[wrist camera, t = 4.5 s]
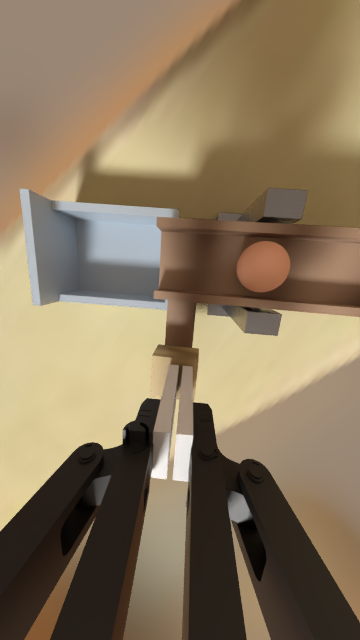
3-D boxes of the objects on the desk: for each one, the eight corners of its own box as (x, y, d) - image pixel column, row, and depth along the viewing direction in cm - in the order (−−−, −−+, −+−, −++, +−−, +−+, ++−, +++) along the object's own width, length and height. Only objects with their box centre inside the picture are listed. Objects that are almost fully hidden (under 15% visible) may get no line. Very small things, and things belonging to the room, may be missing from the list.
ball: (255, 295, 12) (296, 296, 13) (266, 234, 11) (308, 241, 12) (224, 288, 15) (259, 290, 16) (230, 240, 14) (266, 246, 15)
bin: (76, 295, 24) (32, 305, 17) (72, 213, 22) (19, 188, 15) (174, 302, 24) (169, 316, 17) (180, 221, 21) (176, 199, 15)
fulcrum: (207, 313, 24) (218, 341, 15) (218, 213, 21) (240, 171, 12) (318, 322, 24) (400, 356, 14) (344, 222, 21) (467, 185, 12)
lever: (156, 375, 19) (148, 395, 16) (164, 225, 16) (155, 214, 13) (349, 398, 18) (381, 425, 15) (402, 239, 15) (458, 231, 11)
